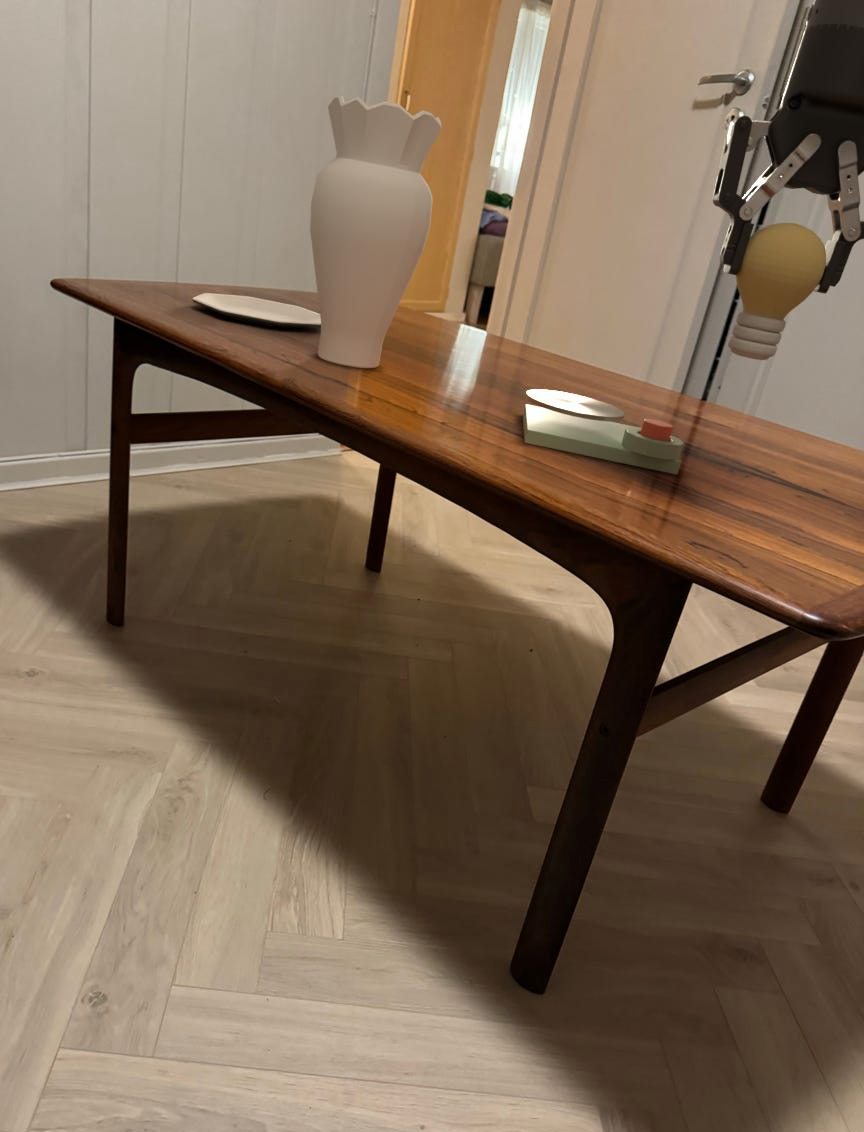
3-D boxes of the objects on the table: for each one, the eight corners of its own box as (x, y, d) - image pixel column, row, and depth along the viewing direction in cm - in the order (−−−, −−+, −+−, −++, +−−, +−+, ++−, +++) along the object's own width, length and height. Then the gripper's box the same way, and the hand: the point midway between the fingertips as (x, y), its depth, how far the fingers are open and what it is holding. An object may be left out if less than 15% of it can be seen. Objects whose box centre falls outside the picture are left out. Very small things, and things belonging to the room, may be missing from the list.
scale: (657, 443, 105) (665, 418, 104) (678, 477, 92) (688, 448, 91) (522, 415, 106) (529, 390, 105) (524, 444, 92) (531, 415, 91)
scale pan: (618, 407, 105) (619, 403, 104) (629, 427, 95) (630, 423, 95) (524, 388, 105) (525, 384, 105) (526, 406, 95) (527, 401, 95)
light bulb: (692, 344, 74) (734, 212, 70) (745, 351, 77) (788, 224, 73) (752, 363, 69) (801, 222, 65) (805, 369, 73) (856, 235, 68)
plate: (170, 300, 137) (171, 289, 136) (276, 308, 150) (277, 298, 149) (243, 330, 124) (244, 318, 124) (351, 335, 137) (353, 325, 137)
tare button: (665, 439, 95) (670, 422, 94) (670, 445, 92) (675, 429, 91) (637, 433, 95) (642, 416, 94) (641, 439, 92) (646, 422, 91)
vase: (317, 343, 125) (350, 104, 113) (416, 367, 122) (462, 124, 110) (273, 354, 113) (305, 85, 100) (383, 381, 110) (431, 108, 97)
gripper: (774, 2, 60) (692, 267, 68) (988, 43, 60) (883, 306, 67) (747, 23, 67) (675, 262, 75) (940, 60, 67) (848, 297, 74)
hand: (774, 282), depth 71 cm, fingers closed on light bulb, 6 cm apart
